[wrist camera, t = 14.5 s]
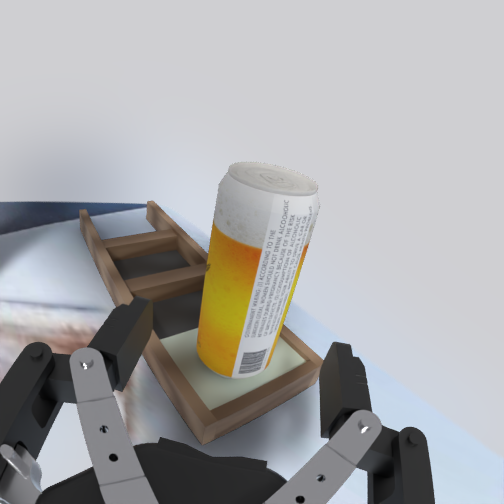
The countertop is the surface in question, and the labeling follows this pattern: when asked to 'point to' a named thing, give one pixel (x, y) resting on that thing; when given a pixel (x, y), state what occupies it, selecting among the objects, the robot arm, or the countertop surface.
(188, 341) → the brown wooden flat frame
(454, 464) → the countertop surface
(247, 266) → the beer can
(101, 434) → the robot arm
